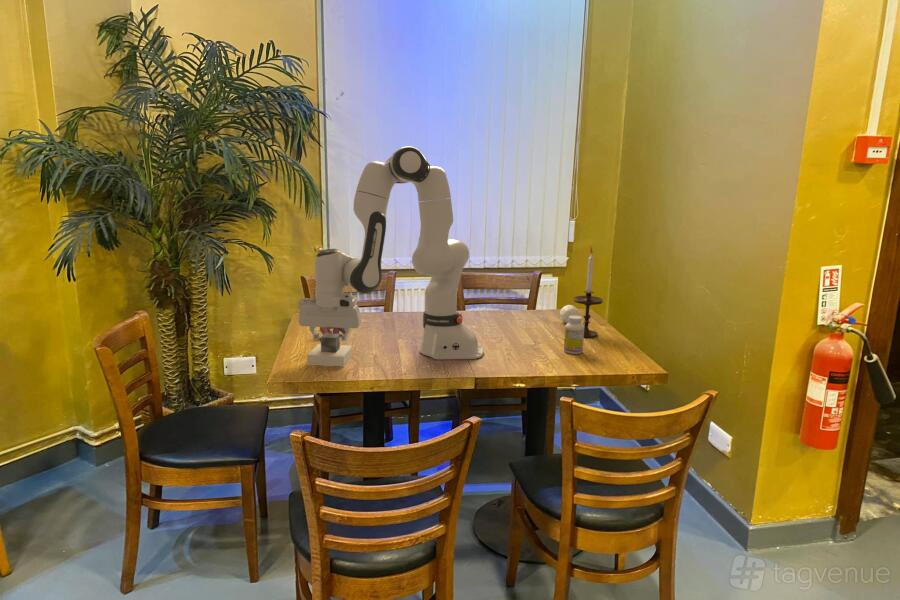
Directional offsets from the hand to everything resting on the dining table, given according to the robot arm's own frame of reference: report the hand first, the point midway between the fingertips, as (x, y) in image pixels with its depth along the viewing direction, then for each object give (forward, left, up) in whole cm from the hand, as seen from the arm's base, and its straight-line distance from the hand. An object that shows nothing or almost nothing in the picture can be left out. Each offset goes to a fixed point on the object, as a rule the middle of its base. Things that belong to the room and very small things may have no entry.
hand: (330, 339), depth 211 cm
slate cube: (0, 0, -4) cm, 4 cm away
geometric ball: (-84, -62, -7) cm, 105 cm away
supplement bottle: (-82, -22, -7) cm, 85 cm away
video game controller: (+7, -27, -7) cm, 29 cm away
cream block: (0, 0, -8) cm, 8 cm away
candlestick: (-89, -45, -7) cm, 100 cm away
